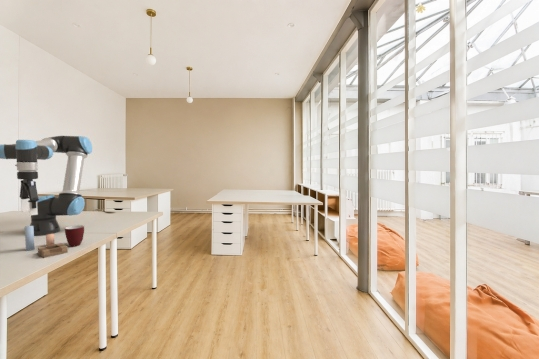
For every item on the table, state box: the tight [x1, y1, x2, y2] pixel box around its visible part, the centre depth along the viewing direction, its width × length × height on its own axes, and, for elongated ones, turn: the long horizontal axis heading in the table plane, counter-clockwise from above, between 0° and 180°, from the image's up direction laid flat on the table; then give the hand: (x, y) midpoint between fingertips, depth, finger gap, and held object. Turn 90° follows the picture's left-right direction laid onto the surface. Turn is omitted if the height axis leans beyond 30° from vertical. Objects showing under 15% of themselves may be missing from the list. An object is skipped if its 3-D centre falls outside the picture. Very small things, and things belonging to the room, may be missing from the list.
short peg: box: [45, 233, 55, 246], centre depth 133 cm, size 3×3×6 cm
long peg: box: [24, 225, 35, 252], centre depth 126 cm, size 3×3×12 cm
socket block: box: [37, 242, 69, 258], centre depth 122 cm, size 9×9×3 cm
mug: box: [64, 224, 85, 247], centre depth 135 cm, size 11×8×10 cm
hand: (29, 213), depth 126 cm, fingers open, 13 cm apart
